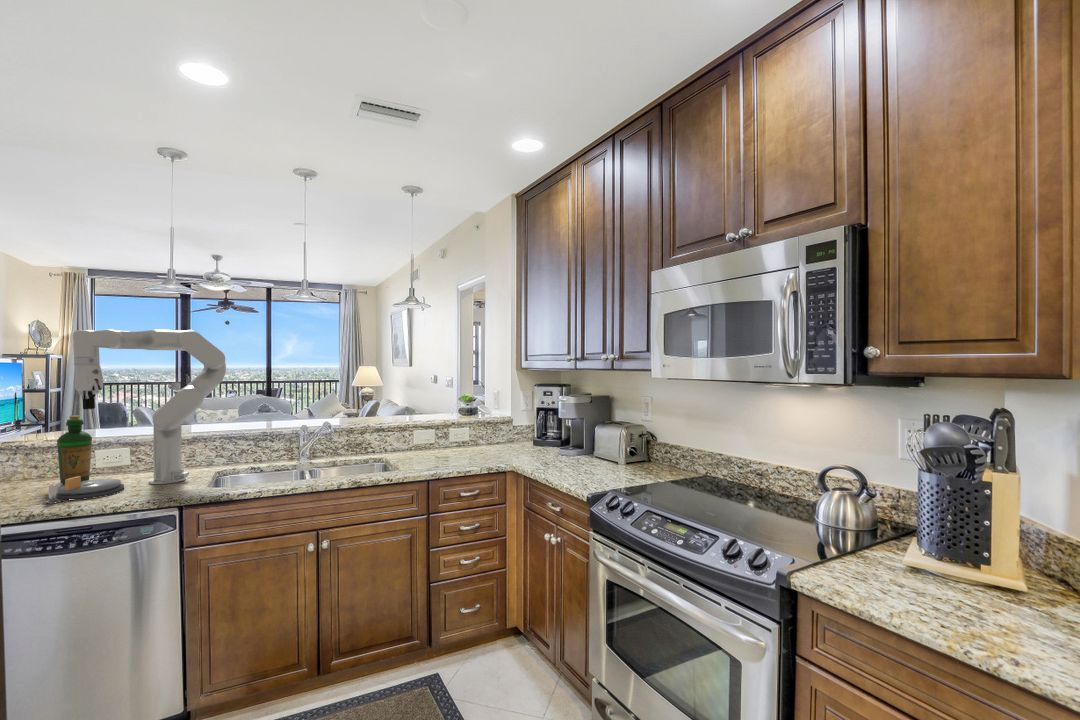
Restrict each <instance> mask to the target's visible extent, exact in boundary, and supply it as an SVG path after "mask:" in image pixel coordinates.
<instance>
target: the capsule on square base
mask: <svg viewBox="0 0 1080 720" xmlns="http://www.w3.org/2000/svg"><path fill="white" fill-rule="evenodd" d="M61 485H62V483H60V482H58V483H55V484H51V485H49V486H48V500H44V501H42V503H55V502H59V501H63V500H64V499H58V486H61ZM63 502H64V501H63Z"/></svg>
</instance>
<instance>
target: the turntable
mask: <svg viewBox="0 0 1080 720" xmlns="http://www.w3.org/2000/svg"><path fill="white" fill-rule="evenodd" d="M121 481H122V480H121V479H117V478H100V479H99V478H97V479H89V480H87V481H81V476H77V477H73V478H69V479H65V484H64V485H59V486H58V495H78V494H88V493H95V492H101V491H106V490H110V489H114V488H117V487H119V486H120V485H121V484H122V482H121Z"/></svg>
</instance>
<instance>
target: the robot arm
mask: <svg viewBox="0 0 1080 720" xmlns="http://www.w3.org/2000/svg"><path fill="white" fill-rule="evenodd" d="M72 341H73V346H72V347H73V365H74V366H73V367H74V375H73V376H74V377H73V378H74V379H73V380H74V381H73V382H74V384H73V386H74V390H75V391H77V394H78V395H81V400H82V410H94V409H95V408H96V404H95V403H96V395H98V394H99V393H100V391H102V390H104V378H103V371H102V368H101V364H100V361H101V360H100V349H111V350H147V351H178V352H179V351H181V352H182V351H185V352H187V353H188V354H189V355H191V356H192V357H193V358H194V359H196V360H197V361H198V362H199V363H201V364H202V365H203V369H202V371H201V372H200V373H199V374H198V375H197V376H195V377H194V378H193V380H191V381H190V382H189V383H188V384H186V386H184V387H182V388H181V389H180V390H178V392H177V393H176V394H175V395H173V396H172V397H171V398H170V399H168V400H167V402H166V403H164V404H163V405H162V406H160V407H158V408H156V410H155V411H154V413H153V415H152V424H153V427H152V428H153V433H152V435H153V445H152V446H153V451H152V452H153V454H152V455H153V478H150V479H149V480H148V484H150V485H166V484H173V483H175V484H176V483H179V482H182V481H185V480H186V479H187V477H188V476H190V472H187V471H186V472H185V469H183V468H182V423H184V421H185V420H187V419H188V418H189V417H190V416H191V415H192V414H193V413H195V411H196V410H198V409H199V408H200V407H201V405H202V404H203V402H204V399H206V397H208V396H209V395H210V394H211V393H212V392H213V391H214V389H216V388H217V387H218V386H219V385H220V384H221V382H222V381H223V380H224V378H225V376H226V372H227V364H226V355H225V354H224V352H223V351H222V350H220V349H219V348H218V347H217V346H215V345H214V344H213V343H212V342H210V341H209V340H208V339H206V338H205V337H204V336H203V335H202V334H200V333H199V331H195V330H193V329H187V330H177V329H176V330H174V329H173V330H172V329H171V330H170V329H148V330H140V331H139V330H138V331H135V330H115V329H110V328H109V329H101V330H93V329H92V330H91V329H82V330H81V329H79V330H74V332H73V334H72Z"/></svg>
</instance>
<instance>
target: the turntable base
mask: <svg viewBox="0 0 1080 720" xmlns="http://www.w3.org/2000/svg"><path fill="white" fill-rule="evenodd" d="M122 490H123V491H124V490H125V484H124V483H121V485H120V486H119V487H117V488H114V489H110V490H106V491H101V492H95V493H88V494H78V495H58V499H64V500H69V499H83V500H85V499H84V498H91V499H94V498H93V497H97V498H100V497H99V496H103V497H106V496H105V495H108V496H110V495H109V494H112V495H115V494H118V493H120V491H121V492H122ZM117 492H118V493H117ZM114 493H115V494H114Z"/></svg>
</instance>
